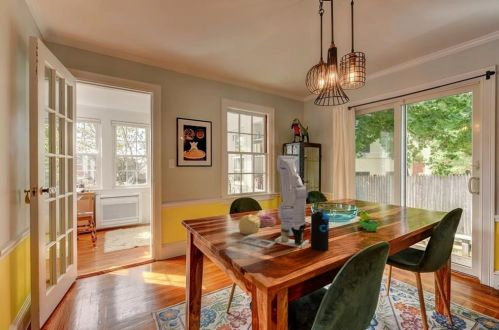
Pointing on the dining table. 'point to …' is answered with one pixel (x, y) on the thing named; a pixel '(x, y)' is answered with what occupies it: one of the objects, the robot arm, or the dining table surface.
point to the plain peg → (285, 234)
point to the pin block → (257, 242)
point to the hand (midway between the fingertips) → (298, 240)
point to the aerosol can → (319, 231)
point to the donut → (267, 221)
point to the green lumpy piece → (367, 222)
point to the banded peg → (301, 240)
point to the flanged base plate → (291, 242)
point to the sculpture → (249, 224)
